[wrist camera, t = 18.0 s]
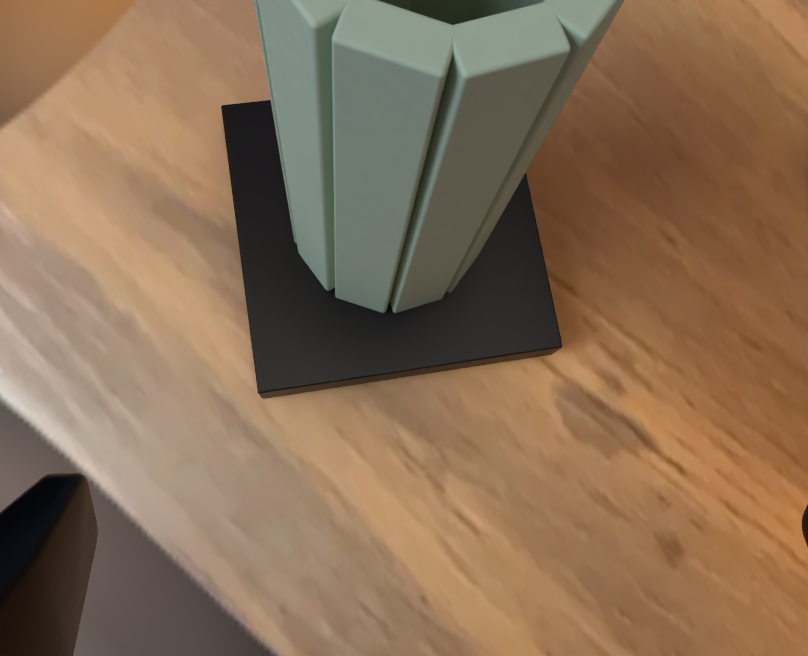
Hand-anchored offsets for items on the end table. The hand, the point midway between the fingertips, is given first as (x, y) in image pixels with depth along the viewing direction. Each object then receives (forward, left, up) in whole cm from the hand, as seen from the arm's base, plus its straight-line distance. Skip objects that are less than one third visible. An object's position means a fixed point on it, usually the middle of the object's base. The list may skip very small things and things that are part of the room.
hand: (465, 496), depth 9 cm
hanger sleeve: (+1, +8, -12) cm, 15 cm away
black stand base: (+1, +8, -14) cm, 16 cm away
